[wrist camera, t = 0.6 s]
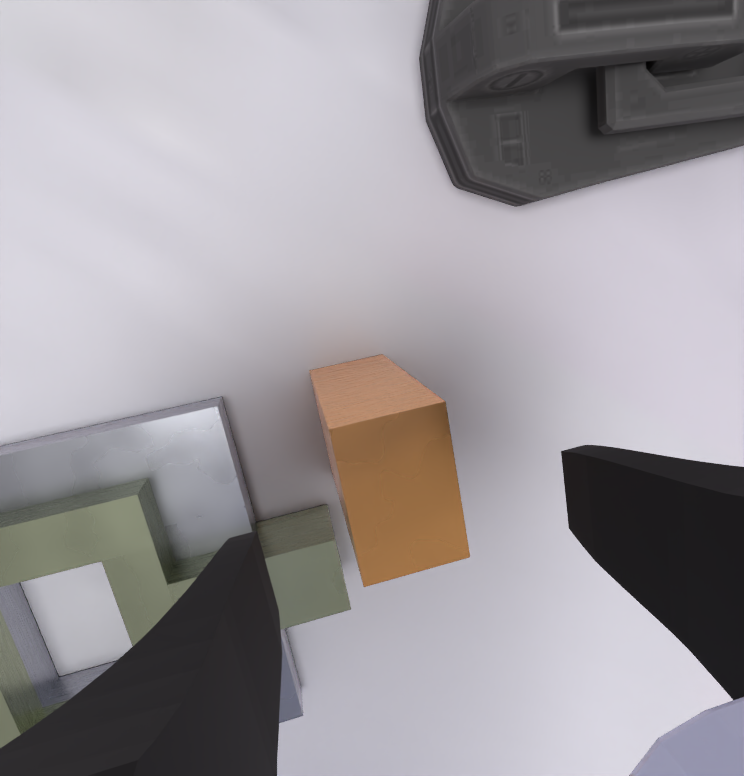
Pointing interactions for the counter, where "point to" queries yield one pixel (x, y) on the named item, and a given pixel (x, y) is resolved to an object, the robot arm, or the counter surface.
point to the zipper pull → (579, 89)
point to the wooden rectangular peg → (391, 467)
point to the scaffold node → (142, 540)
